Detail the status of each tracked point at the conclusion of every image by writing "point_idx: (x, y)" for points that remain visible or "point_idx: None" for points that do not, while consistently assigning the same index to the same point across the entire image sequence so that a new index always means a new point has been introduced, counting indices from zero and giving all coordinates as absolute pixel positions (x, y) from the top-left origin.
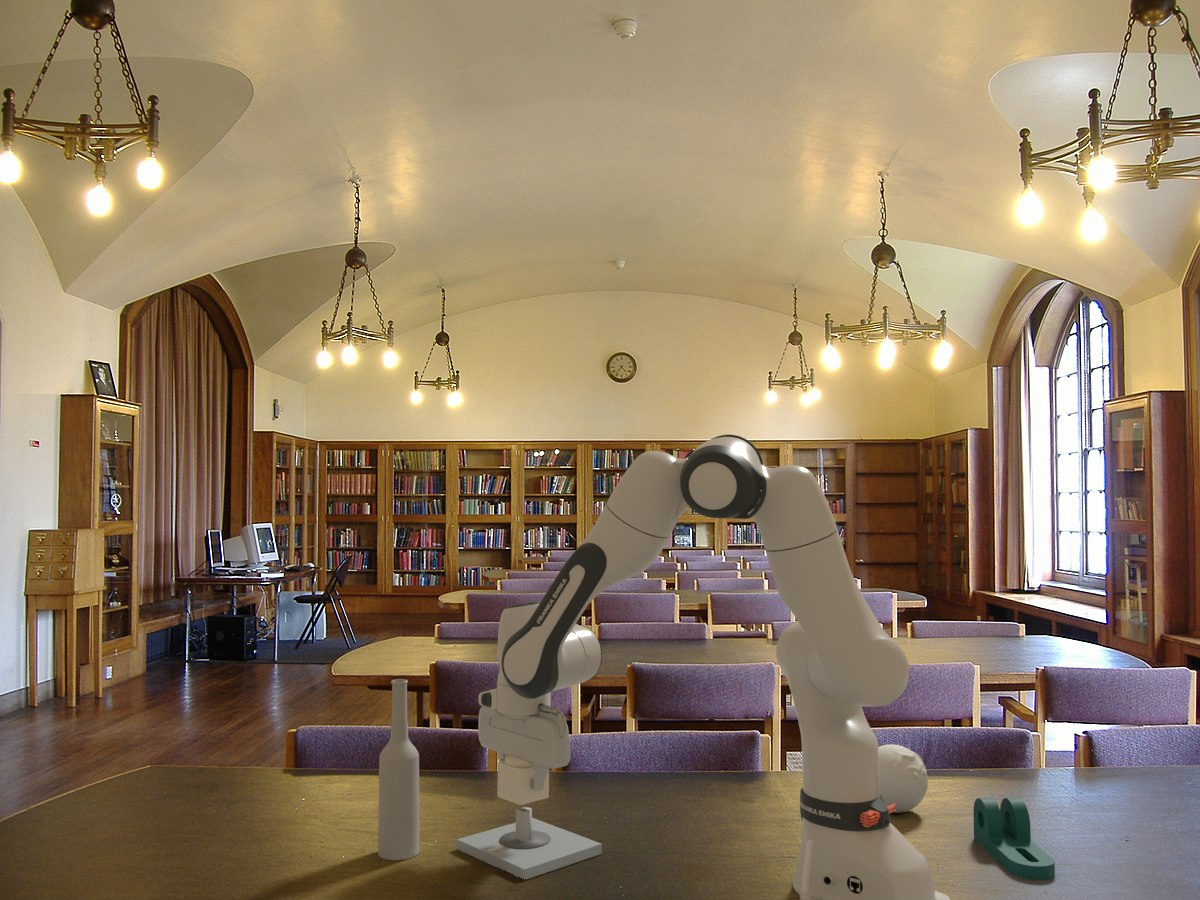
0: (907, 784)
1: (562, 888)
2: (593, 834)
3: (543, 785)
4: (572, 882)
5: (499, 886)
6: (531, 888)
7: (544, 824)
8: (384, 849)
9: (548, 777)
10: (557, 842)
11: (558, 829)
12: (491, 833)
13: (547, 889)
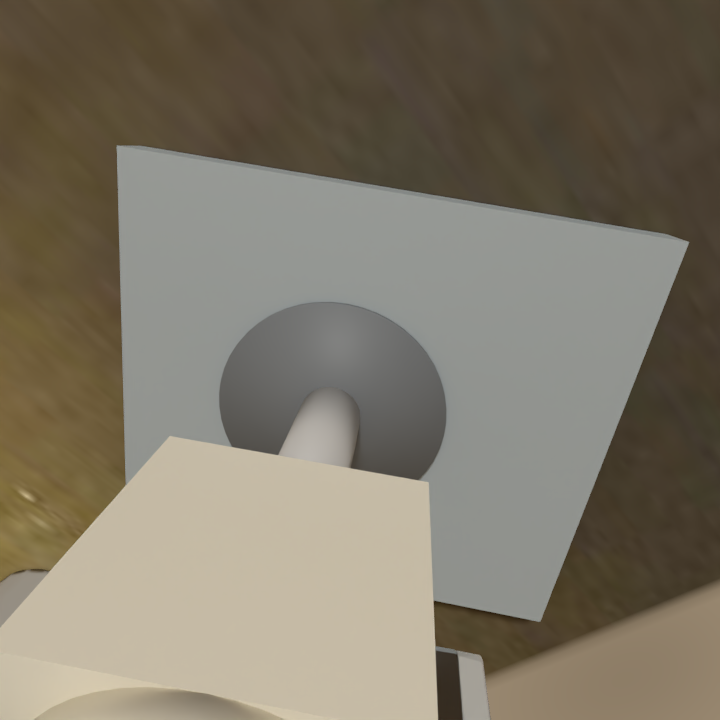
0: None
1: (692, 582)
2: (467, 12)
3: (483, 681)
4: (700, 532)
5: (492, 653)
6: (593, 624)
7: (245, 192)
8: None
9: (433, 603)
10: (473, 357)
11: (357, 209)
12: (163, 429)
13: (647, 608)
